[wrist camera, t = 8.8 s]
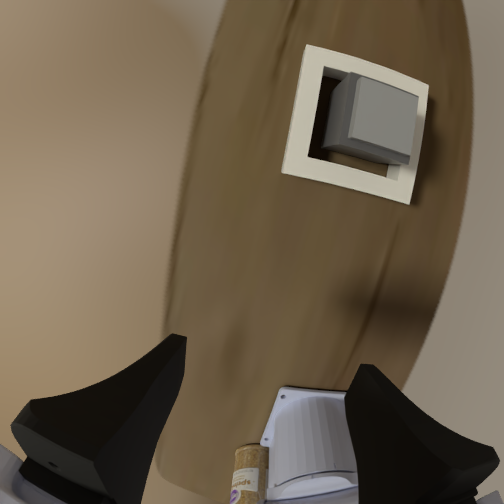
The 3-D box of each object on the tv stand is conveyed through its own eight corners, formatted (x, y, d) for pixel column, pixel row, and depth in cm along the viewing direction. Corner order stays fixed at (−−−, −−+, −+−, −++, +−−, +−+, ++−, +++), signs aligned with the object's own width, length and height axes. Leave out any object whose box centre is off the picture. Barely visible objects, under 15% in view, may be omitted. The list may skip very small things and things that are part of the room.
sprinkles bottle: (239, 439, 27) (227, 547, 14) (280, 445, 27) (280, 551, 14) (231, 458, 28) (219, 554, 16) (268, 464, 28) (265, 558, 16)
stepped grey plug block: (375, 162, 18) (415, 165, 12) (320, 147, 18) (342, 142, 12) (384, 109, 17) (425, 93, 11) (330, 92, 17) (354, 67, 11)
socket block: (397, 200, 19) (409, 204, 17) (281, 171, 19) (282, 172, 17) (415, 90, 16) (428, 85, 14) (303, 54, 16) (306, 44, 14)
